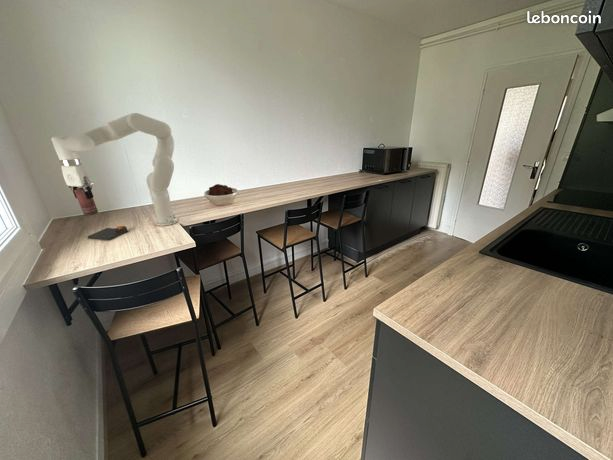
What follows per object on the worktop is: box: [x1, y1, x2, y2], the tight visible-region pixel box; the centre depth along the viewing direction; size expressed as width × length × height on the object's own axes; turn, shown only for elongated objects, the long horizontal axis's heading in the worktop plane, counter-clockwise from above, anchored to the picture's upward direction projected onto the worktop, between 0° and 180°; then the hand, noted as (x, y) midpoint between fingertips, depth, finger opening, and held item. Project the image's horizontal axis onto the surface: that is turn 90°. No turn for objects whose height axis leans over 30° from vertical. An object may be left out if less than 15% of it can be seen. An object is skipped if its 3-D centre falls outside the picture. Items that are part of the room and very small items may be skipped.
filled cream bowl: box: [203, 183, 239, 206], centre depth 192 cm, size 25×25×15 cm
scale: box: [87, 225, 128, 241], centre depth 142 cm, size 15×13×3 cm
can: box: [74, 186, 99, 217], centre depth 131 cm, size 6×6×14 cm
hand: (84, 197), depth 131 cm, fingers closed on can, 6 cm apart
